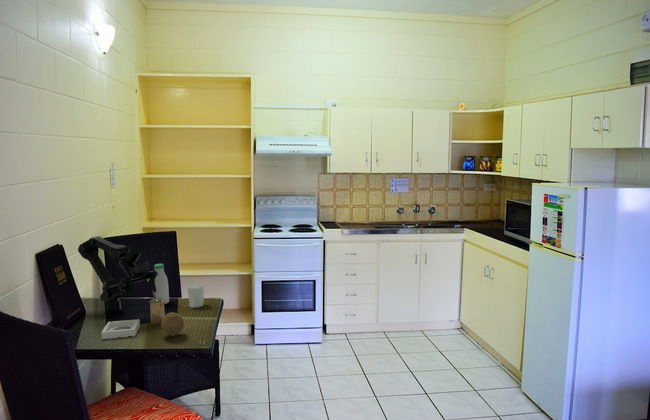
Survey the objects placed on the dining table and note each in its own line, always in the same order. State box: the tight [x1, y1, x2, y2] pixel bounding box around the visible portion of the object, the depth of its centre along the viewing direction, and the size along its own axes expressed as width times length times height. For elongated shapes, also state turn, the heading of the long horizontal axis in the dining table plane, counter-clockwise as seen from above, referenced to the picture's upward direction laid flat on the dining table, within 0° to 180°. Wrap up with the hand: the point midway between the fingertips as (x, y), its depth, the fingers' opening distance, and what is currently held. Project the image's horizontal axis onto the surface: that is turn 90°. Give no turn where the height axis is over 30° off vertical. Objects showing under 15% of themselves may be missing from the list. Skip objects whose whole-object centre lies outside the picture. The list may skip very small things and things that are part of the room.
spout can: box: [149, 298, 166, 326], centre depth 225 cm, size 8×6×11 cm
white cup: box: [186, 283, 205, 309], centre depth 250 cm, size 8×8×10 cm
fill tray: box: [101, 319, 141, 340], centre depth 215 cm, size 13×13×3 cm
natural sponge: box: [160, 312, 185, 337], centre depth 209 cm, size 9×9×10 cm
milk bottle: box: [152, 263, 170, 305], centre depth 255 cm, size 8×8×20 cm
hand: (147, 294), depth 228 cm, fingers open, 9 cm apart
